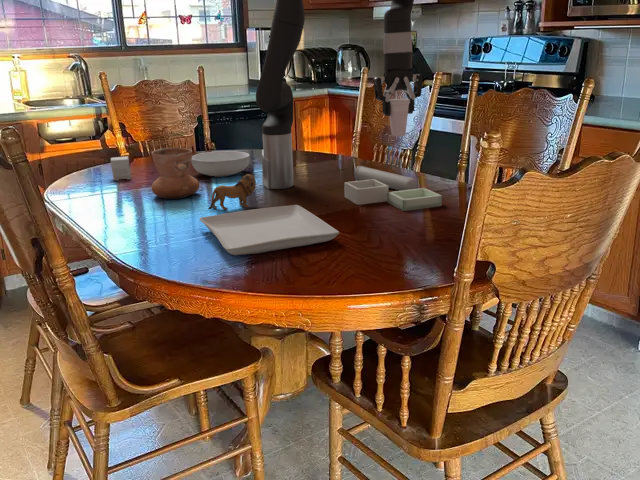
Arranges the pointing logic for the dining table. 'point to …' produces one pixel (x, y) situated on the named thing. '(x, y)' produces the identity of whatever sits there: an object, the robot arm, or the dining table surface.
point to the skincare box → (120, 168)
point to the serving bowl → (220, 162)
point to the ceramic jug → (174, 173)
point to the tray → (414, 199)
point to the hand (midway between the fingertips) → (398, 114)
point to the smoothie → (398, 115)
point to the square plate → (268, 229)
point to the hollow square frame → (366, 191)
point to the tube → (385, 178)
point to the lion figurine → (234, 191)
